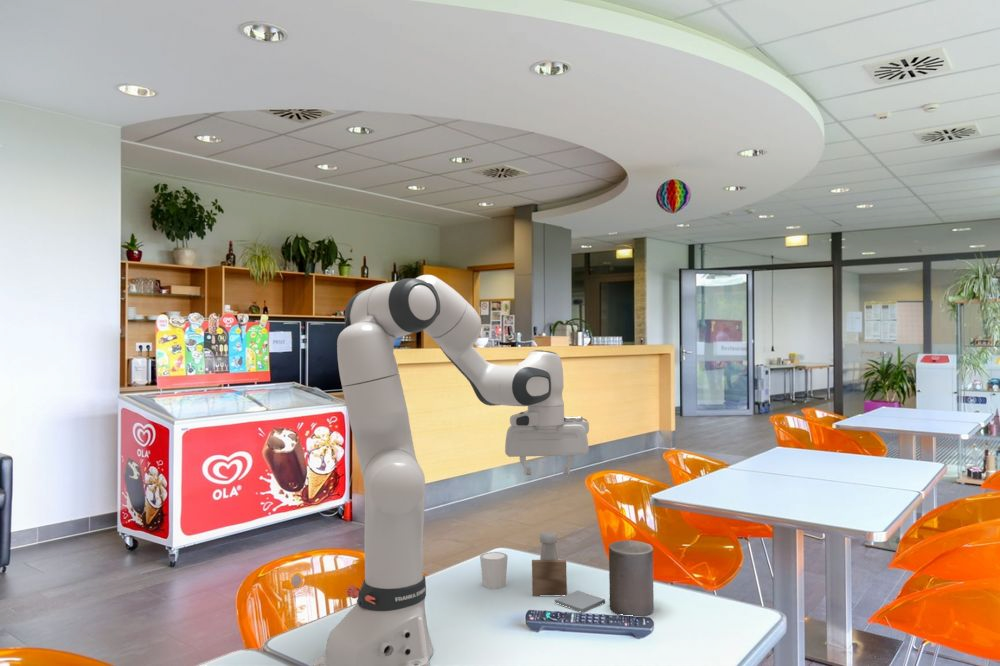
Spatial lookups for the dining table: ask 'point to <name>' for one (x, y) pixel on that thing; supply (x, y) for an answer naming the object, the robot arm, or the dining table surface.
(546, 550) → the salt shaker
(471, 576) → the dining table surface
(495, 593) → the dining table surface
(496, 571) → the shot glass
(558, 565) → the walnut box
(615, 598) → the pillar candle
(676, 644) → the dining table surface
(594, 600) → the slate mat
